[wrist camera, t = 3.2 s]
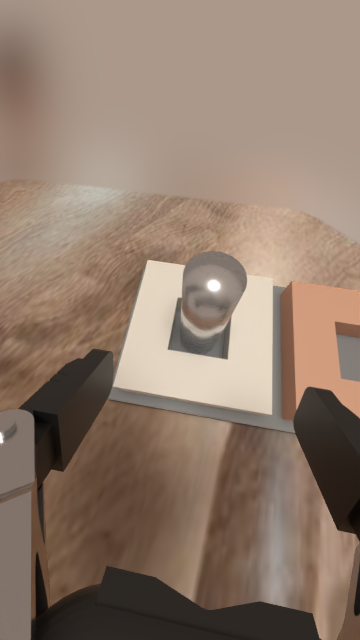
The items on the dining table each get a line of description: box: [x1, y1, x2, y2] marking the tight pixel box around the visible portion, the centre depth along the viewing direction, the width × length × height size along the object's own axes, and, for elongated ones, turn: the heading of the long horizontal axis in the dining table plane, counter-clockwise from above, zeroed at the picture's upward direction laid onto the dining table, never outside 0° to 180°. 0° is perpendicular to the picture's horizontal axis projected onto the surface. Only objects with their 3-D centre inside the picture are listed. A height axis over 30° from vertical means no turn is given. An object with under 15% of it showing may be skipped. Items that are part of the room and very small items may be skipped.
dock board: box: [108, 260, 360, 433], centre depth 21 cm, size 28×14×4 cm, turn 80°
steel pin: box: [180, 251, 247, 354], centre depth 17 cm, size 4×4×10 cm
